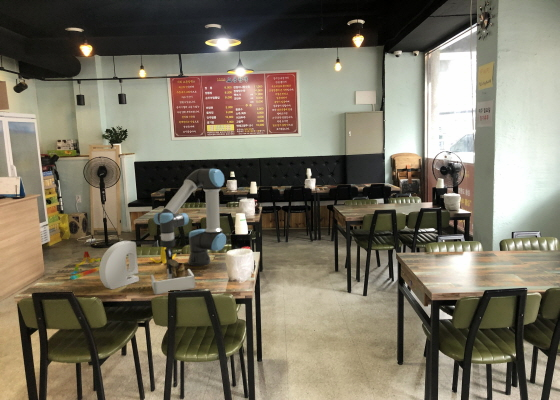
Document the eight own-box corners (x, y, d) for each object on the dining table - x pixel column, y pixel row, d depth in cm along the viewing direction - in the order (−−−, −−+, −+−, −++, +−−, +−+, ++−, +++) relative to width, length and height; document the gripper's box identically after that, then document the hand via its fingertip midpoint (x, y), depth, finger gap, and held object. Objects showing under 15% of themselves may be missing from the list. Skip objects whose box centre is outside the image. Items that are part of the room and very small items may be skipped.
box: (190, 280, 256) (189, 269, 255) (195, 287, 242) (194, 276, 241) (151, 286, 247) (150, 274, 246) (154, 294, 233) (153, 282, 232)
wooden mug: (164, 287, 244) (163, 258, 240) (175, 278, 257) (174, 250, 253) (179, 289, 242) (178, 259, 238) (189, 279, 255) (188, 251, 251)
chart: (107, 265, 295) (105, 244, 293) (110, 266, 294) (108, 245, 292) (70, 279, 267) (67, 256, 265) (73, 280, 266) (71, 256, 264)
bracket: (139, 281, 258) (135, 240, 255) (107, 291, 242) (103, 248, 239) (132, 279, 263) (129, 239, 259) (100, 288, 246) (96, 246, 243)
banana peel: (176, 258, 308) (175, 235, 306) (169, 265, 289) (167, 241, 287) (154, 258, 308) (152, 236, 306) (145, 266, 290) (143, 242, 287)
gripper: (159, 238, 252) (162, 276, 255) (162, 242, 240) (165, 282, 243) (172, 236, 255) (175, 274, 258) (176, 241, 243) (178, 280, 246)
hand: (170, 278), depth 251 cm, fingers closed
